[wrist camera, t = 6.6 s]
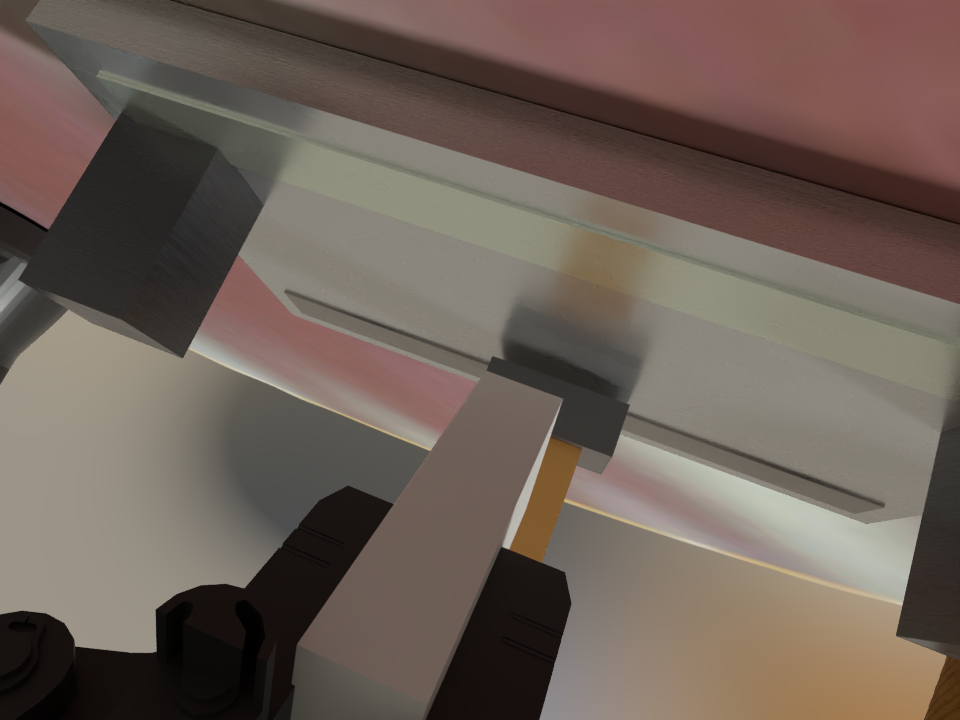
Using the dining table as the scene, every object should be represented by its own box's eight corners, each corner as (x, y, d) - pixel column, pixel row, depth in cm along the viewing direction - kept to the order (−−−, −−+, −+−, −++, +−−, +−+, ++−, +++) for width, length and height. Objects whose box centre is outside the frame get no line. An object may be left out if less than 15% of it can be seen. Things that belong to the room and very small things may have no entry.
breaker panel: (307, 286, 33) (244, 413, 31) (60, -31, 16) (-107, 211, 14) (874, 488, 28) (836, 649, 27) (1393, 348, 11) (1374, 771, 10)
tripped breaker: (498, 385, 28) (401, 628, 26) (492, 355, 25) (377, 636, 22) (616, 429, 28) (528, 684, 25) (630, 404, 24) (526, 703, 21)
